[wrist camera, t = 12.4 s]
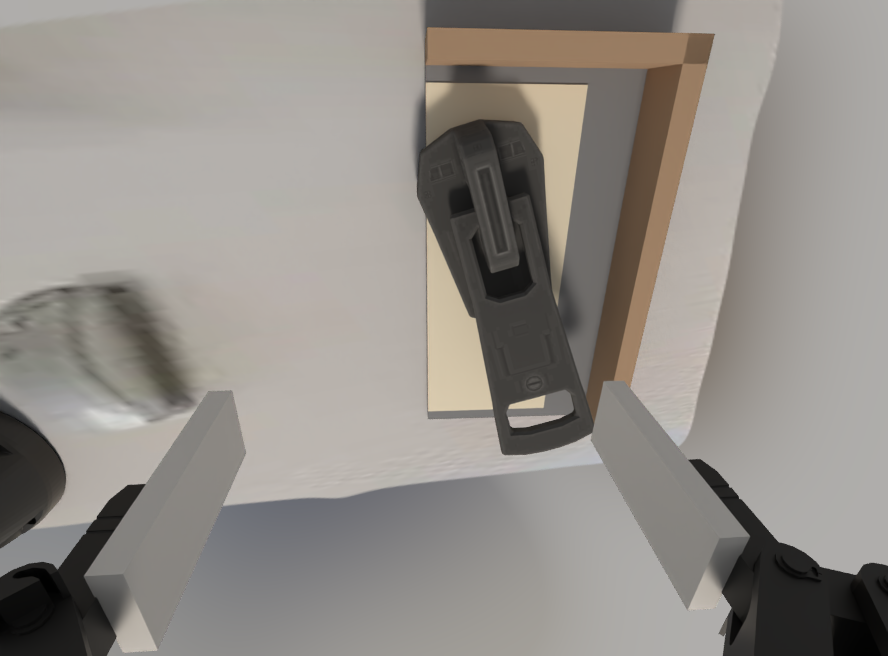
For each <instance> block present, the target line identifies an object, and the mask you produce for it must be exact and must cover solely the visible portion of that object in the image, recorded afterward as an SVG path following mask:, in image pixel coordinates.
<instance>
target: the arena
mask: <svg viewBox="0 0 888 656" xmlns="http://www.w3.org/2000/svg"><path fill="white" fill-rule="evenodd" d="M714 35H715V34H702V33H657V32H612V31H568V30H523V29H478V28H433V27H427V32H426V38H425V82H426V146H428V145H429V144H430V143H432V142H433V141H434V140H436V139H437V138H438V137H439V136H441V135H442V134H443V133H445V132H446V131H447V130H449V129H450V128H453V127H456V126H459V125H462V124H466V123H469V122H472V121H475V120H478V119H484V120H504V121H516V122H521V123H522V124H523V125H524V127H525V128H526V130H527V131H528V133H529V134H530V136H531V137H532V139H533V141H534V142H535V144H536V145H537V147H538V148H539V150H540V151H541V153H542V154H543V157H544V171H545V191H546V208H547V223H548V238H549V253H550V268H551V283H552V291H553V294H554V298H555V301H556V304H557V307H558V310H559V314H560V317H561V320H562V323H563V326H564V330H565V333H566V336H567V339H568V342H569V346H570V349H571V352H572V355H573V358H574V362H575V365H576V368H577V371H578V374H579V378H580V381H581V384H582V387H583V389H584V392H585V395H586V399H587V402H588V405H589V408H590V412H591V415H592V418H593V422H594V423H595V418H596V414H597V409H598V405H599V400H600V396H601V391H602V387H603V382H604V381H625V383H626V384H627V385H628V386H629V388H630V386H631V382H632V377H633V373H634V369H635V365H636V361H637V356H638V352H639V348H640V344H641V340H642V336H643V331H644V327H645V323H646V319H647V315H648V311H649V306H650V302H651V298H652V294H653V290H654V285H655V281H656V277H657V273H658V269H659V265H660V260H661V256H662V252H663V248H664V244H665V240H666V235H667V231H668V227H669V223H670V219H671V214H672V210H673V206H674V202H675V198H676V194H677V189H678V185H679V181H680V177H681V173H682V169H683V164H684V160H685V156H686V152H687V148H688V143H689V139H690V135H691V131H692V127H693V123H694V118H695V114H696V110H697V106H698V102H699V98H700V93H701V89H702V85H703V81H704V77H705V72H706V68H707V64H708V60H709V56H710V52H711V47H712V43H713V39H714ZM426 220H427V359H428V419H452V418H484V417H494V412H493V406H492V400H491V395H490V390H489V384H488V379H487V374H486V369H485V364H484V359H483V354H482V349H481V344H480V339H479V333H478V328H477V323H476V318H472V317H470V316H469V314H468V312H467V310H466V307H465V305H464V303H463V300H462V298H461V296H460V293H459V291H458V289H457V286H456V284H455V282H454V279H453V277H452V275H451V272H450V270H449V268H448V265H447V263H446V261H445V258H444V256H443V254H442V251H441V249H440V247H439V244H438V242H437V240H436V237H435V235H434V233H433V230H432V228H431V226H430V224H429V222H428V219H427V217H426ZM573 410H574V407H573V403H572V398H571V394H570V393H569V392H568V391H566V390H562V391H559V392H555V393H551V394H548V395H544V396H540V397H537V398H533V399H529V400H526V401H522V402H518V403H514V404H511V405H509V408H508V410H507V412H506V413H507V417H516V416H547V415H568V414H570V413H572V412H573Z"/></svg>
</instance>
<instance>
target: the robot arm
mask: <svg viewBox="0 0 888 656" xmlns="http://www.w3.org/2000/svg"><path fill="white" fill-rule="evenodd" d="M591 441H592V443H593V445H594V447H595V448H596V450H597V452H598V454H599V455H600V457H601V459H602V461H603V463H604V464H605V466H606V468H607V469H608V471H609V473H610V475H611V477H612V478H613V480H614V482H615V484H616V485H617V487H618V489H619V491H620V492H621V494H622V496H623V498H624V499H625V501H626V503H627V505H628V506H629V508H630V510H631V512H632V514H633V515H634V517H635V519H636V521H637V522H638V524H639V526H640V528H641V529H642V531H643V533H644V535H645V537H646V538H647V540H648V542H649V543H650V545H651V547H652V549H653V550H654V552H655V554H656V556H657V558H658V559H659V561H660V563H661V565H662V566H663V568H664V570H665V572H666V573H667V575H668V577H669V579H670V580H671V582H672V584H673V586H674V588H675V589H676V591H677V593H678V595H679V596H680V598H681V600H682V602H683V603H684V605H685V607H686V609H687V610H701V609H714V608H716V606H717V603H718V601H719V599H720V597H721V595H722V594H723V595H724V597H725V598H726V600H727V601H728V603H729V604H730V606H731V607H732V609H731V610H730V613H729V614H728V616H727V618H726V620H725V622H724V624H723V626H722V628H721V630H720V632H719V634H721V635H722V636H724V635H725V633H726V635H725V643H724V651H723V656H888V566H886V565H883V564H877V563H869V564H865V565H863V566H862V568H861V569H860V571H859V572H858V574H857V575H853V574H849V573H843V572H840V571H835V570H830V569H826V568H822V567H820V566H819V565H818V564H817V562H816V561H814V560H813V559H812V558H811V557H809V556H808V555H807V554H806V553H804V552H802V551H800V550H798V549H797V548H795V547H793V546H790V545H787V544H784V543H779V542H778V541H777V540H776V539H775V538H774V537H773V535H772V534H771V533H770V532H769V531H768V530H767V528H766V527H765V526H764V525H763V524H762V523H761V521H760V520H759V519H758V518H757V517H756V516H755V515H754V513H752V511H751V510H750V509H749V508H748V506H747V505H746V504H745V503H744V502H743V501H742V500H741V499H739V496H738V495H737V494H736V493H735V492H734V490H733V489H732V488H729V484H728V483H727V482H726V481H725V480H724V479H723V478H722V476H721V475H720V474H719V473H718V472H717V471H716V470H715V469H713V468H711V467H710V466H709V465H708V464H706V463H705V462H703V461H702V460H701V459H695V460H688V459H687V458H686V457H685V455H684V454H683V453H682V452H681V451H680V449H679V448H678V447H677V446H676V444H675V443H674V442H673V441H672V439H671V438H670V437H669V436H668V434H667V433H666V432H665V431H664V429H663V428H662V427H661V426H660V425H659V423H658V422H657V421H656V420H655V418H654V417H653V416H652V415H651V413H650V412H649V411H648V410H647V409H646V407H645V406H644V405H643V404H642V402H641V401H640V400H639V399H638V397H637V396H636V395H635V394H634V393H633V391H632V390H631V389H630V388H629V386H628V385H627V384H626V383H625V381H604V382H603V387H602V391H601V396H600V400H599V405H598V409H597V414H596V418H595V423H594V427H593V432H592V436H591ZM245 454H246V451H245V446H244V442H243V437H242V433H241V428H240V424H239V419H238V415H237V410H236V406H235V401H234V397H233V392H232V391H208V393H207V394H206V396H205V397H204V399H203V400H202V402H201V403H200V405H199V406H198V408H197V409H196V411H195V412H194V414H193V415H192V417H191V418H190V420H189V421H188V423H187V424H186V426H185V427H184V429H183V430H182V431H181V433H180V434H179V436H178V437H177V439H176V440H175V442H174V443H173V445H172V446H171V448H170V449H169V451H168V452H167V454H166V455H165V457H164V458H163V460H162V461H161V463H160V464H159V466H158V467H157V469H156V470H155V471H154V473H153V474H152V476H151V477H150V479H149V480H148V482H147V483H146V484H138V485H127V486H126V487H125V488H124V489H122V490H121V491H120V492H119V493H117V494H116V495H115V496H114V497H112V498H111V499H110V500H109V501H108V502H107V504H106V505H105V507H104V508H103V509H102V511H101V512H100V513H99V515H98V516H97V519H96V520H94V521H93V523H92V524H91V526H90V527H89V528H88V530H87V531H86V534H85V535H83V536H82V538H81V539H80V540H79V542H78V543H77V544H76V546H75V547H74V548H73V550H72V551H71V552H70V554H69V555H68V556H67V558H66V559H65V560H64V562H63V563H62V565H61V566H60V567H59V569H58V570H57V569H56V568H55V566H54V565H53V564H49V563H45V562H39V563H31V564H27V565H25V566H22V567H19V568H17V569H14V570H12V571H10V572H8V573H7V574H5V575H3V576H2V577H0V656H107V654H108V652H109V650H110V648H111V647H112V645H113V643H114V641H115V639H116V640H117V642H118V644H119V646H120V648H121V649H122V651H123V653H126V652H140V651H153V650H158V649H159V646H160V644H161V642H162V640H163V638H164V635H165V633H166V631H167V629H168V626H169V624H170V621H171V620H172V617H173V615H174V612H175V610H176V608H177V606H178V604H179V602H180V600H181V597H182V595H183V593H184V591H185V588H186V586H187V584H188V582H189V579H190V577H191V575H192V573H193V570H194V568H195V566H196V564H197V561H198V559H199V557H200V555H201V553H202V550H203V548H204V546H205V543H206V541H207V539H208V537H209V535H210V532H211V530H212V528H213V526H214V523H215V521H216V519H217V517H218V514H219V512H220V510H221V508H222V506H223V503H224V501H225V499H226V497H227V494H228V492H229V490H230V488H231V485H232V483H233V481H234V479H235V477H236V474H237V472H238V470H239V468H240V465H241V463H242V461H243V459H244V456H245ZM65 484H66V480H65V473H64V469H63V466H62V464H61V462H60V460H59V458H58V457H57V455H56V454H55V452H54V451H53V450H52V448H51V447H50V446H49V445H48V444H47V443H46V442H45V441H44V440H43V439H42V438H41V437H40V436H39V435H38V434H36V433H35V432H34V431H33V430H31V429H30V428H28V427H27V426H25V425H24V424H22V423H21V422H19V421H17V420H16V419H14V418H12V417H10V416H8V415H6V414H3V413H1V412H0V548H2V547H3V546H5V545H7V544H8V543H10V542H11V541H13V540H14V539H16V538H17V537H18V536H20V535H21V534H23V533H25V532H27V531H28V530H30V529H31V528H33V527H34V526H36V525H37V524H38V523H39V522H40V521H41V520H43V519H44V517H45V516H46V515H47V514H48V513H49V512H50V511H51V510H52V508H53V507H54V506H55V505H56V504H57V503H58V502H59V500H60V499H61V497H62V495H63V493H64V490H65Z"/></svg>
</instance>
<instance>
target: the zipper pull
mask: <svg viewBox="0 0 888 656" xmlns="http://www.w3.org/2000/svg"><path fill="white" fill-rule="evenodd" d="M417 197H418V199H419V201H420V204H421V206H422V208H423V210H424V213H425V215H426V217H427V219H428V222H429V224H430V226H431V228H432V230H433V233H434V235H435V237H436V240H437V242H438V244H439V247H440V249H441V251H442V254H443V256H444V258H445V261H446V263H447V265H448V268H449V270H450V272H451V275H452V277H453V279H454V282H455V284H456V286H457V289H458V291H459V293H460V296H461V298H462V300H463V303H464V305H465V307H466V310H467V312H468V314H469V316H470V317H472V318H476V323H477V328H478V333H479V339H480V344H481V349H482V354H483V359H484V364H485V369H486V374H487V379H488V384H489V390H490V395H491V400H492V406H493V412H494V417H495V422H496V427H497V432H498V437H499V442H500V447H501V451H502V454H504V455H527V454H533V453H539V452H544V451H548V450H551V449H555V448H559V447H562V446H565V445H568V444H570V443H573V442H576V441H578V440H580V439H581V438H583V437H585V436H587V435H589V434H591V433H592V432H593V427H594V422H593V418H592V415H591V412H590V408H589V405H588V402H587V399H586V395H585V392H584V389H583V387H582V384H581V381H580V378H579V374H578V371H577V368H576V365H575V362H574V358H573V355H572V352H571V349H570V346H569V342H568V339H567V336H566V333H565V330H564V326H563V323H562V320H561V317H560V314H559V310H558V307H557V304H556V301H555V298H554V294H553V291H552V283H551V268H550V253H549V238H548V223H547V208H546V191H545V171H544V157H543V154H542V153H541V151H540V150H539V148H538V147H537V145H536V144H535V142H534V141H533V139H532V137H531V136H530V134H529V133H528V131H527V130H526V128H525V127H524V125H523V124H522V123H521V122H516V121H504V120H484V119H478V120H475V121H472V122H469V123H466V124H462V125H459V126H456V127H453V128H450V129H449V130H447V131H446V132H445V133H443V134H442V135H441V136H439V137H438V138H437V139H436V140H434V141H433V142H432V143H430V144H429V145H428V146H426V147H425V148H424V149H423V150H422V151H421V152H420V158H419V170H418V181H417ZM562 390H566V391H568V392H569V393H570V394H571V398H572V403H573V407H574V410H573V412H572V413H570V414H568V415H566V416H564V417H562V418H560V419H557V420H553V421H549V422H545V423H542V424H538V425H534V426H530V427H525V428H512V427H511V426H510V424H509V421H508V417H507V413H506V412H507V410H508V408H509V405H511V404H514V403H518V402H522V401H526V400H529V399H533V398H537V397H540V396H544V395H548V394H551V393H555V392H559V391H562Z"/></svg>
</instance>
